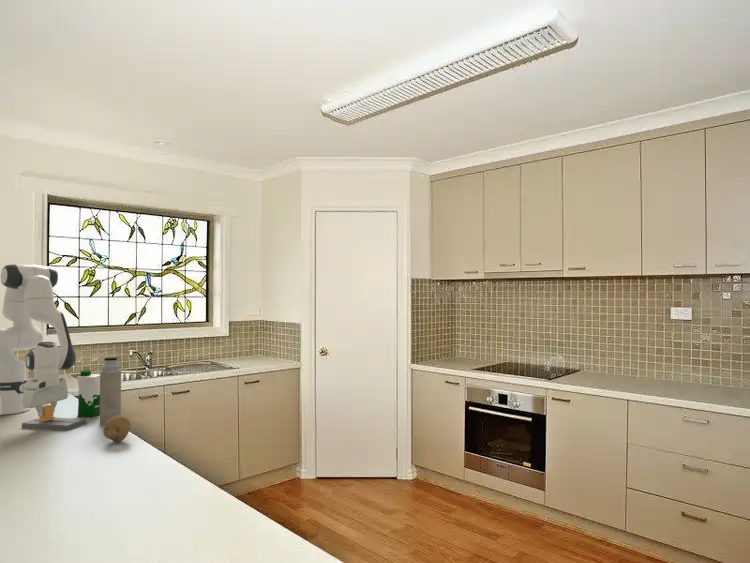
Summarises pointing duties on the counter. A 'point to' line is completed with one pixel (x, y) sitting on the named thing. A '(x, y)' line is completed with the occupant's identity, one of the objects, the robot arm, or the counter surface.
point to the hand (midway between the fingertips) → (46, 414)
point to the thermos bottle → (110, 390)
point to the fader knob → (47, 413)
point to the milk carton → (88, 394)
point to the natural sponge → (117, 428)
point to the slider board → (55, 423)
